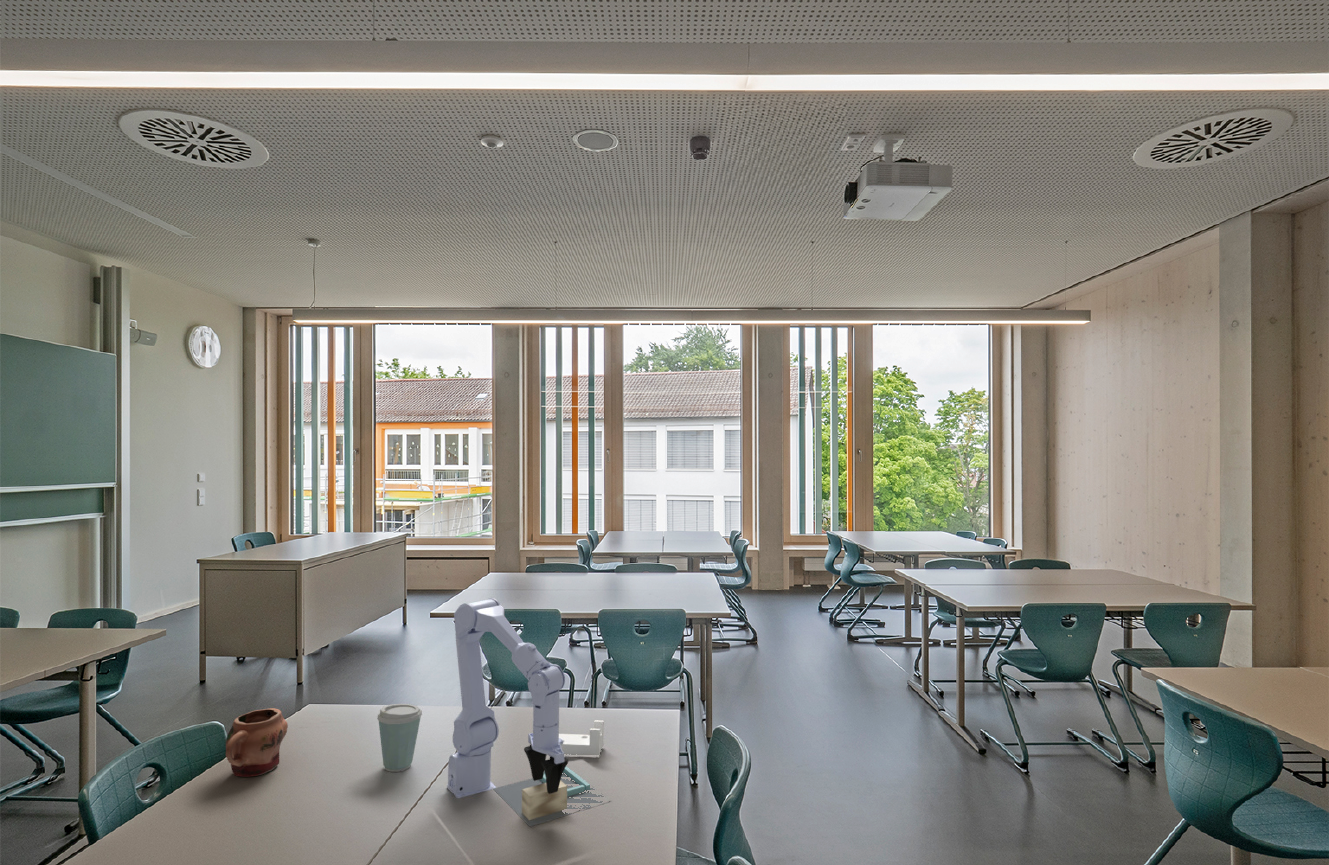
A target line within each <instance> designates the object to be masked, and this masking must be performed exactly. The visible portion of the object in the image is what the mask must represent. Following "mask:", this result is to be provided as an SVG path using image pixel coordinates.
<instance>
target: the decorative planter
mask: <svg viewBox="0 0 1329 865" xmlns="http://www.w3.org/2000/svg"><path fill="white" fill-rule="evenodd" d="M288 726H289V724H288V722H287V720H286V719H285V718H284V716H283V714H282V711H281V710H280V708H279V709H278V708H274V707H270V708H264V709H257V710H252V711H249V712H247V713H244V714H241V715H240V716H238V717H236V718H235V719H234V720H233V722H232V725H231V727H230V729H229V732H228V733H227V735H226V738H225V757H226V760H227V761H228V763H229V764H230V767H231V771H232V773H233V775H234V776H237V777H242V778H243V777H256V776H261V775H264V774H266V773H268V772H271V771H272V770H274V769H275V768H277V766H278V765H280V748H281V744H282V742H283V740H284V738H285V736H286V734H287V732H288V728H289V727H288Z"/></svg>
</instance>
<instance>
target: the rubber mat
mask: <svg viewBox="0 0 1329 865" xmlns="http://www.w3.org/2000/svg"><path fill="white" fill-rule="evenodd" d="M561 777H568V776H566V775H565V774H564V773H563V774H562V776H561ZM561 781H562V782H563V783H564V784H577V783H576V782H574V781H572V779H571V780H570V781H569V780H568V779H566V780H565V779H562V778H561ZM540 784H544V783H543V782H542V781H541V780H536V781H534V780H533V777H531V778H529V779H524V780H521V781H517V782H514V783H513V782H512V783H509V784H505V785H502V786H501V785H500V786H499V787H496V788H494V789H493V791H494V792H495V793H496V794H498V796H499V797H501V799H502V800H503V801H504V802H505V803H506V804H507V805H508V806H509V808H511V809H512V810H513V812H515V813H516V814H517V815H518V816H519V817H520V819H522V820H523V821H524V823H525V824H526V825H527V826H529V827H530V828H531V827H533V826H537V825H540V824H543V823H546V822H550V821H553V820H556V819H559V818H562V817H563V818H564V817H566V816H570V815H572V813H569V814H568V813H566V812H565V814H564V813H563V812H562V811H558V812H555V813H552V814H548V815H545V816H542V817H538V818H535V819H532V820H529V819H528V818H527V817H526V816H525V815H524V814H523V813H522V789H525V788H529V787H533V786H536V785H540ZM569 788H573V786H572V785H571V786H568V785H567V789H569ZM593 788H594V787H593ZM593 788H590V790H595V789H596V788H595V789H593ZM602 795H603V794H602ZM602 795H598V796H597V795H596V794H592V793H591V792H590V793H589V791H588V792H587V793H586V792H584V793H582V792H581V794H579V793H578V794H574V795H571V796H567V803H589V804H590V803H602V802H603V801H600V802H598V801H596V800H593V799H592V800H591V798H588V799H587V798H581V797H600V796H601V797H604V796H605V795H604V796H602ZM569 797H571V798H569ZM573 797H580V798H581V800H580V799H574V798H573ZM582 805H583V804H582ZM567 806H569V805H567ZM575 806H576V805H575ZM583 806H584V807H583V808H582V809H585V808H586V810H590V809H592V808H591V806H590V805H586V806H588V807H586V806H585V805H583ZM589 806H590V807H589ZM580 807H582V806H580ZM578 808H579V807H578ZM578 808H575V807H573V808H572V805H570V806H569V807H567V809H578ZM579 809H581V808H579Z"/></svg>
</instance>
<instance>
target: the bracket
mask: <svg viewBox="0 0 1329 865" xmlns="http://www.w3.org/2000/svg"><path fill="white" fill-rule="evenodd" d="M604 727H605V721H604V720H603V719H601V720H600V719H599V720H598V719H597V720H596V719H595V720H594V721H593V728H589V734H577V733H576V734H575V733H574V734H573V733H559V738H561V739H562V740H563V744H561V749H562V751H563V752H564V754H566V755H567V754H569V755H570V754H571V755H576V754H577V755H599V754H600V752H601V753H602V750H603V748H604V744H605V743H604V742H605V741H604V740H605V738H604V733H605V732H604V731H605V728H604ZM602 747H603V748H602ZM601 749H602V750H601Z"/></svg>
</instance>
